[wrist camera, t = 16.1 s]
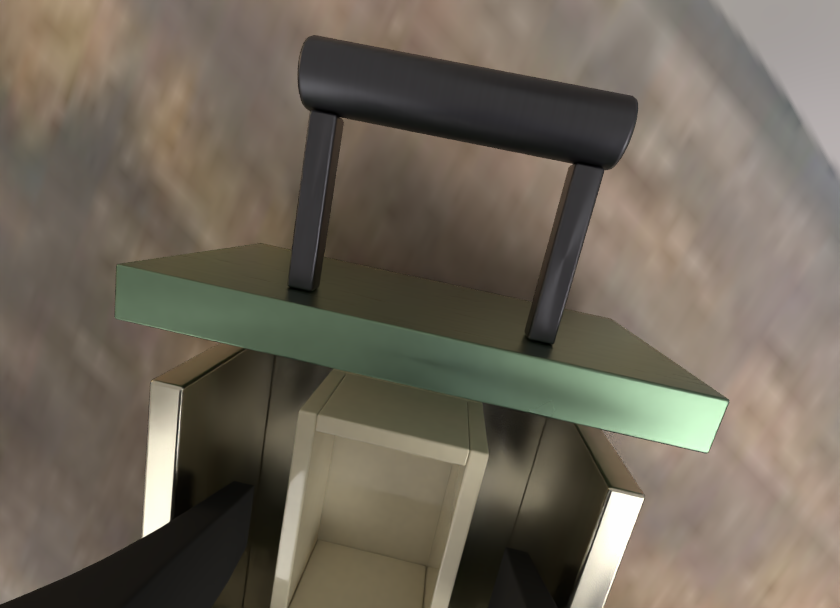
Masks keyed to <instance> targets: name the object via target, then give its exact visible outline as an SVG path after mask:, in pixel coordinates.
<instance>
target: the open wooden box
mask: <svg viewBox="0 0 840 608" xmlns="http://www.w3.org/2000/svg"><path fill="white" fill-rule="evenodd" d="M488 458H489V451H488V443H487V435H486V427H485V419H484V411H483V404H482V402H478V401H474V400H469V399H465V398H461V397H456V396H452V395H448V394H443V393H439V392H434V391H430V390H426V389H421V388H417V387H412V386H408V385H404V384H399V383H395V382H390V381H386V380H382V379H377V378H373V377H369V376H364V375H360V374H355V373H351V372H347V371H342V370H338V369H333V370H332V371H331V372H330V373H329V374H328V376H327V377H326V378H325V379H324V380H323V382H322V383H321V384H320V385H319V387H318V388H317V389H316V390H315V392H314V393H313V394H312V395H311V396H310V398H309V399H308V400H307V401H306V403H305V404H304V405H303V406H302V407H301V409H300V410H299V413H298V420H297V427H296V434H295V440H294V447H293V454H292V461H291V467H290V474H289V481H288V488H287V494H286V501H285V508H284V515H283V521H282V528H281V535H280V542H279V548H278V555H277V562H276V569H275V575H274V582H273V589H272V596H271V602H270V608H448V606H449V602H450V598H451V595H452V591H453V587H454V584H455V580H456V576H457V572H458V569H459V565H460V561H461V558H462V554H463V550H464V547H465V543H466V539H467V535H468V532H469V528H470V524H471V521H472V517H473V513H474V510H475V506H476V502H477V498H478V495H479V491H480V487H481V484H482V480H483V476H484V473H485V469H486V465H487V461H488Z"/></svg>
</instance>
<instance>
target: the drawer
mask: <svg viewBox="0 0 840 608" xmlns="http://www.w3.org/2000/svg"><path fill="white" fill-rule="evenodd" d="M298 88H299V94H300V98H301V101H302V104H303V105H304V107H305V108H306V109H308V110H309V111H310V114H309V122H308V129H307V137H306V145H305V152H304V160H303V168H302V175H301V183H300V190H299V198H298V206H297V213H296V221H295V229H294V236H293V244H292V250H290V249H285V248H280V247H276V246H271V245H266V244H262V243H259V244H252V245H245V246H238V247H231V248H224V249H217V250H211V251H204V252H197V253H190V254H183V255H176V256H169V257H163V258H156V259H149V260H142V261H135V262H128V263H121V264H117V266H116V290H115V319H118V320H123V321H127V322H132V323H136V324H140V325H145V326H149V327H153V328H158V329H162V330H167V331H171V332H175V333H180V334H184V335H189V336H193V337H197V338H202V339H206V340H211V341H215V342H219V344H217V345H216V346H214V347H212V348H210V349H208V350H206V351H204V352H203V353H201V354H199V355H197V356H195V357H193V358H191V359H190V360H188V361H186V362H184V363H182V364H180V365H178V366H177V367H175V368H173V369H171V370H169V371H167V372H166V373H164V374H162V375H160V376H158V377H156V378H154V379H153V380H152V381H151V383H150V396H149V414H148V431H147V449H146V466H145V483H144V501H143V518H142V536H141V538H143V537H145V536H146V535H148V534H150V533H152V532H153V531H155V530H157V529H158V528H160V527H162V526H163V525H165V524H167V523H168V522H170V521H172V520H173V519H175V518H176V517H178V516H180V515H181V514H183V513H184V512H186V511H188V510H189V509H191V508H192V507H194V506H195V505H197V504H198V503H200V502H202V501H203V500H205V499H206V498H208V497H209V496H211V495H212V494H214V493H215V492H217V491H218V490H220V489H222V488H223V487H225V486H226V485H228V484H230V483H231V482H233V481H237V482H241V483H245V484H249V485H254V494H253V502H252V510H251V517H250V525H249V533H248V541H247V547H246V548H245V550H244V552H243V554H242V556H241V558H240V560H239V562H238V564H237V566H236V568H235V570H234V572H233V573H232V575H231V577H230V579H229V581H228V583H227V584H226V586H225V587H224V589H223V591H222V592H221V594H220V595H219V597H218V598H217V600H216V601H215V603H214V604H213V606H212V607H211V608H270V602H271V596H272V589H273V582H274V575H275V569H276V562H277V555H278V548H279V542H280V535H281V528H282V521H283V515H284V508H285V501H286V494H287V488H288V481H289V474H290V467H291V461H292V454H293V447H294V440H295V434H296V427H297V420H298V413H299V410H300V409H301V407H302V406H303V405H304V404H305V403H306V401H307V400H308V399H309V398H310V396H311V395H312V394H313V393H314V392H315V390H316V389H317V388H318V387H319V385H320V384H321V383H322V382H323V380H324V379H325V378H326V377H327V376H328V374H329V373H330V372H331V371H332V370H333V369H338V370H342V371H347V372H351V373H355V374H360V375H364V376H369V377H373V378H377V379H382V380H386V381H390V382H395V383H399V384H404V385H408V386H412V387H417V388H421V389H426V390H430V391H434V392H439V393H443V394H448V395H452V396H456V397H461V398H465V399H469V400H474V401H478V402H482V404H483V411H484V419H485V427H486V435H487V443H488V451H489V458H488V461H487V465H486V469H485V473H484V476H483V480H482V484H481V487H480V491H479V495H478V498H477V502H476V506H475V510H474V513H473V517H472V521H471V524H470V528H469V532H468V535H467V539H466V543H465V547H464V550H463V554H462V558H461V561H460V565H459V569H458V572H457V576H456V580H455V584H454V587H453V591H452V595H451V598H450V602H449V606H448V608H488V605H489V602H490V598H491V595H492V592H493V588H494V585H495V582H496V578H497V575H498V571H499V568H500V565H501V561H502V558H503V555H504V551H505V548H506V547H508V548H512V549H516V550H520V551H524V552H528V554H529V555H530V557H531V559H532V561H533V563H534V564H535V566H536V568H537V570H538V572H539V574H540V576H541V578H542V580H543V582H544V583H545V585H546V587H547V589H548V591H549V593H550V595H551V596H552V598H553V600H554V602H555V604H556V606H557V607H558V608H604V606H605V603H606V601H607V598H608V595H609V593H610V590H611V587H612V585H613V582H614V579H615V577H616V574H617V571H618V569H619V566H620V563H621V561H622V558H623V555H624V553H625V550H626V547H627V545H628V542H629V539H630V537H631V534H632V532H633V529H634V526H635V524H636V521H637V518H638V516H639V513H640V510H641V508H642V505H643V502H644V500H645V495H644V493H643V492H642V490H641V489H640V487H639V486H638V484H637V483H636V481H635V480H634V478H633V477H632V475H631V474H630V472H629V471H628V469H627V468H626V466H625V465H624V463H623V462H622V460H621V458H620V457H619V455H618V454H617V452H616V451H615V449H614V448H613V446H612V445H611V443H610V442H609V440H608V439H607V437H606V436H605V434H604V433H603V431H602V430H606V431H610V432H614V433H619V434H623V435H627V436H632V437H636V438H641V439H645V440H649V441H654V442H658V443H663V444H667V445H671V446H676V447H680V448H684V449H689V450H693V451H698V452H702V453H709V451H710V448H711V446H712V443H713V441H714V438H715V436H716V433H717V431H718V428H719V426H720V424H721V421H722V419H723V416H724V414H725V411H726V409H727V406H728V404H729V399H727V398H726V397H724V396H723V395H721V394H720V393H719V392H717V391H716V390H714V389H713V388H711V387H710V386H708V385H707V384H705V383H704V382H703V381H701V380H700V379H698V378H697V377H695V376H694V375H692V374H691V373H689V372H688V371H686V370H685V369H684V368H682V367H681V366H679V365H678V364H676V363H675V362H673V361H672V360H670V359H669V358H667V357H666V356H665V355H663V354H662V353H660V352H659V351H657V350H656V349H654V348H653V347H651V346H650V345H649V344H647V343H646V342H644V341H643V340H641V339H640V338H638V337H637V336H635V335H634V334H632V333H631V332H630V331H628V330H627V329H625V328H624V327H622V326H621V325H619V324H618V323H616V322H615V321H613V320H612V319H610V318H605V317H600V316H596V315H591V314H586V313H582V312H577V311H572V310H568V309H564V308H565V305H566V301H567V298H568V295H569V291H570V288H571V284H572V281H573V277H574V274H575V270H576V267H577V264H578V260H579V257H580V253H581V250H582V246H583V243H584V239H585V236H586V233H587V229H588V226H589V222H590V219H591V215H592V212H593V208H594V205H595V202H596V198H597V195H598V191H599V188H600V184H601V181H602V177H603V174H604V170H609V169H612V168H613V167H614V166H615V165H616V164H617V163H618V162H619V160H620V159H621V157H622V156H623V154H624V152H625V150H626V148H627V146H628V144H629V142H630V140H631V137H632V134H633V131H634V128H635V124H636V120H637V113H638V102H637V99H636V98H634V97H633V96H630V95H625V94H620V93H615V92H609V91H604V90H599V89H594V88H588V87H583V86H578V85H573V84H567V83H562V82H557V81H552V80H547V79H541V78H536V77H531V76H526V75H520V74H515V73H510V72H505V71H499V70H494V69H489V68H484V67H479V66H473V65H468V64H463V63H458V62H452V61H447V60H442V59H437V58H431V57H426V56H421V55H416V54H410V53H405V52H400V51H395V50H390V49H384V48H379V47H374V46H369V45H363V44H358V43H353V42H348V41H342V40H337V39H332V38H327V37H322V36H316V35H313V36H309V37H308V38H307V39H306V40H305V41H304V43H303V46H302V49H301V52H300V57H299V63H298ZM340 117H342V118H347V119H352V120H357V121H362V122H367V123H372V124H377V125H382V126H387V127H392V128H397V129H402V130H407V131H412V132H417V133H422V134H427V135H432V136H437V137H442V138H447V139H452V140H457V141H462V142H467V143H472V144H477V145H482V146H487V147H492V148H497V149H502V150H507V151H512V152H517V153H522V154H527V155H532V156H537V157H542V158H547V159H552V160H557V161H562V162H567V163H572V164H573V165H571V166H570V167H569V168H568V172H567V176H566V179H565V183H564V187H563V190H562V194H561V198H560V202H559V205H558V209H557V213H556V216H555V220H554V224H553V227H552V231H551V235H550V238H549V242H548V246H547V249H546V253H545V257H544V261H543V264H542V268H541V272H540V275H539V279H538V283H537V286H536V290H535V294H534V297H533V301H532V302H531V301H526V300H521V299H517V298H512V297H508V296H503V295H498V294H494V293H489V292H484V291H480V290H475V289H470V288H466V287H461V286H457V285H452V284H447V283H443V282H438V281H433V280H429V279H424V278H419V277H415V276H410V275H406V274H401V273H396V272H392V271H387V270H382V269H378V268H373V267H368V266H364V265H359V264H355V263H350V262H345V261H341V260H336V259H331V258H327V257H324V252H325V245H326V238H327V232H328V225H329V218H330V212H331V205H332V198H333V192H334V185H335V178H336V171H337V165H338V158H339V151H340V145H341V138H342V131H343V125H344V122H343V120H342V119H341V118H340Z"/></svg>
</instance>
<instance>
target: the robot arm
mask: <svg viewBox="0 0 840 608" xmlns="http://www.w3.org/2000/svg"><path fill="white" fill-rule="evenodd" d="M253 494H254V485H249V484H245V483H241V482H237V481H233V482H231V483H230V484H228V485H226V486H225V487H223V488H222V489H220V490H218V491H217V492H215V493H214V494H212V495H211V496H209V497H208V498H206V499H205V500H203V501H202V502H200V503H198V504H197V505H195V506H194V507H192V508H191V509H189V510H188V511H186V512H184V513H183V514H181V515H180V516H178V517H176V518H175V519H173V520H172V521H170V522H168V523H167V524H165V525H163V526H162V527H160V528H158V529H157V530H155V531H153V532H152V533H150V534H148V535H146V536H145V537H143V538H141V539H139V540H138V541H136V542H134V543H132V544H131V545H129V546H127V547H125V548H124V549H122V550H120V551H118V552H116V553H114V554H112V555H111V556H109V557H107V558H105V559H103V560H101V561H99V562H97V563H95V564H93V565H90V566H88V567H86V568H84V569H82V570H80V571H78V572H76V573H74V574H72V575H70V576H67V577H65V578H63V579H61V580H58V581H56V582H54V583H51V584H49V585H46V586H44V587H42V588H39V589H37V590H35V591H32V592H30V593H28V594H25V595H23V596H21V597H18V598H16V599H13V600H11V601H8V602H6V603H3V604H1V605H0V608H211V607H212V606H213V604H214V603H215V601H216V600H217V598H218V597H219V595H220V594H221V592H222V591H223V589H224V587H225V586H226V584H227V583H228V581H229V579H230V577H231V575H232V573H233V572H234V570H235V568H236V566H237V564H238V562H239V560H240V558H241V556H242V554H243V552H244V550H245V548H246V547H247V541H248V533H249V525H250V517H251V510H252V502H253ZM488 608H558V607H557V606H556V604H555V602H554V600H553V598H552V596H551V595H550V593H549V591H548V589H547V587H546V585H545V583H544V582H543V580H542V578H541V576H540V574H539V572H538V570H537V568H536V566H535V564H534V563H533V561H532V559H531V557H530V555H529V554H528V552H524V551H520V550H516V549H512V548H508V547H506V548H505V551H504V555H503V558H502V561H501V565H500V568H499V571H498V575H497V578H496V582H495V585H494V588H493V592H492V595H491V598H490V602H489V605H488Z"/></svg>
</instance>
